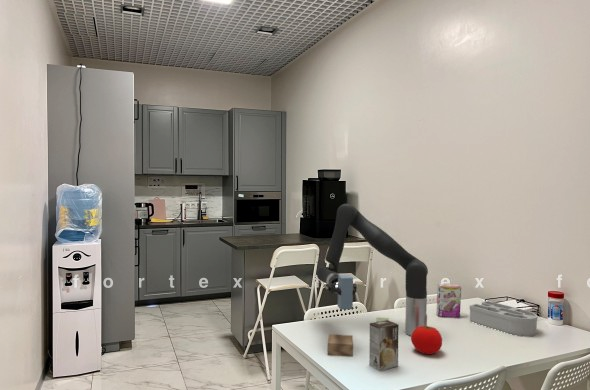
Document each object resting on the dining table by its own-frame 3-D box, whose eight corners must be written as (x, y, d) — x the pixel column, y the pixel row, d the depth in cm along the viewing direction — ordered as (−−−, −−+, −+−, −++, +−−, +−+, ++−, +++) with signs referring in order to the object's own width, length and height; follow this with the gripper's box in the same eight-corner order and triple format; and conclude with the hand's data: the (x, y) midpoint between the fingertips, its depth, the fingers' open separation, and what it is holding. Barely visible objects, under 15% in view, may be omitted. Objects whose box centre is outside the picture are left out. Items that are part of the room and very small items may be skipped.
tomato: (438, 360, 165) (439, 333, 165) (407, 352, 172) (408, 327, 171) (444, 350, 175) (445, 325, 174) (415, 344, 181) (416, 320, 181)
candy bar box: (438, 317, 218) (439, 285, 218) (436, 314, 223) (436, 283, 223) (460, 318, 217) (461, 286, 217) (457, 315, 222) (458, 284, 222)
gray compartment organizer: (487, 317, 221) (487, 300, 221) (543, 333, 198) (544, 314, 198) (468, 322, 211) (469, 305, 211) (525, 340, 188) (526, 321, 188)
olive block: (387, 349, 175) (388, 318, 175) (388, 353, 170) (389, 322, 170) (375, 348, 176) (376, 317, 176) (376, 353, 171) (376, 321, 171)
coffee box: (387, 360, 164) (388, 319, 164) (398, 366, 159) (399, 324, 158) (368, 364, 160) (369, 322, 160) (379, 371, 154) (380, 328, 154)
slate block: (348, 305, 178) (349, 275, 178) (352, 309, 173) (353, 278, 173) (337, 306, 178) (338, 275, 177) (340, 309, 173) (341, 278, 172)
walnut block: (352, 347, 177) (352, 335, 177) (352, 356, 167) (353, 344, 167) (328, 345, 178) (328, 334, 178) (327, 355, 169) (327, 343, 168)
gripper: (320, 274, 188) (330, 284, 171) (351, 274, 190) (364, 283, 174) (320, 291, 188) (330, 302, 172) (351, 290, 191) (363, 301, 174)
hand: (347, 292), depth 173 cm, fingers closed on slate block, 5 cm apart
